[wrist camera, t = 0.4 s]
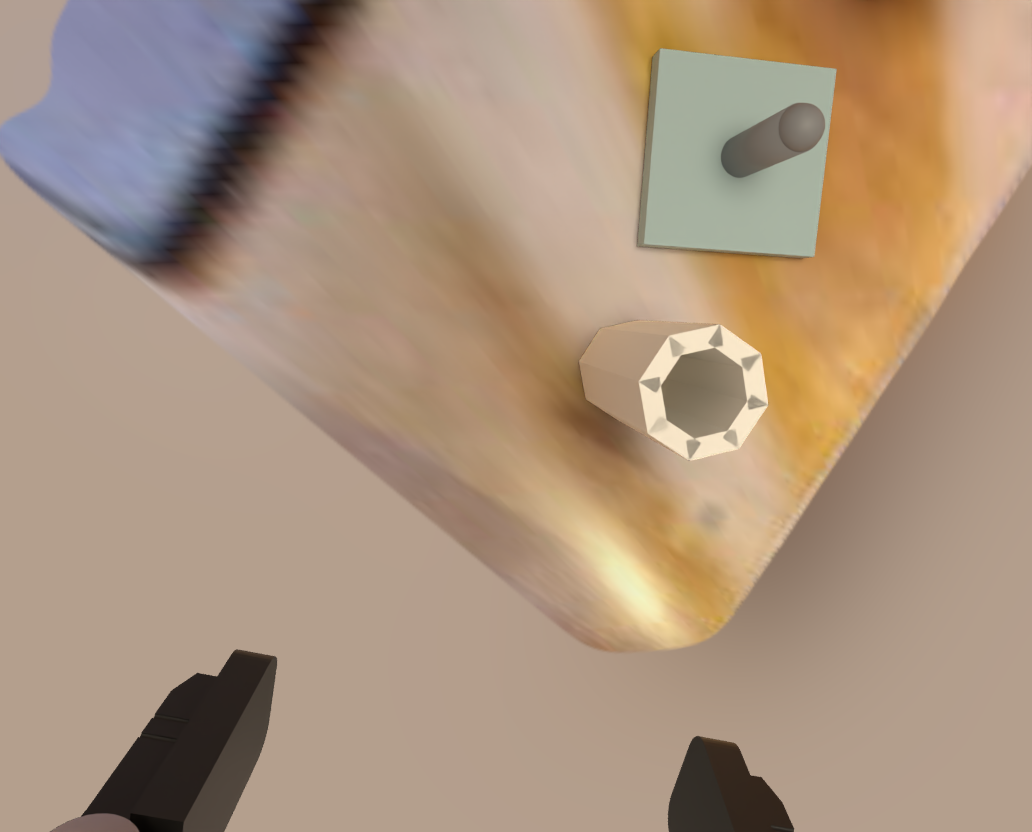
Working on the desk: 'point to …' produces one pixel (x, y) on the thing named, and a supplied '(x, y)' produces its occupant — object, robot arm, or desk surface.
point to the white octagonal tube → (677, 383)
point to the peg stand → (734, 154)
